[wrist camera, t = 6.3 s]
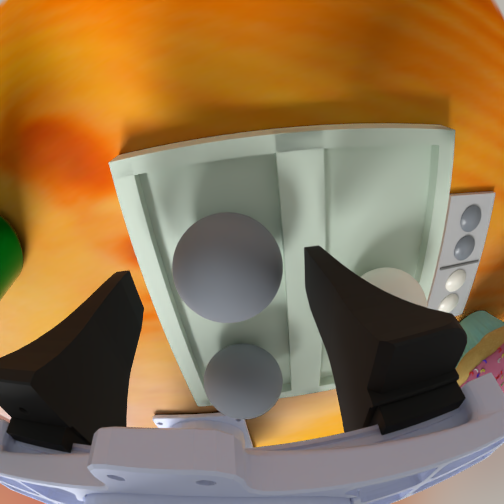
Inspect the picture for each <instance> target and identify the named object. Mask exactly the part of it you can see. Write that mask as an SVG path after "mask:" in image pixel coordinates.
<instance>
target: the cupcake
mask: <svg viewBox="0 0 504 504" xmlns="http://www.w3.org/2000/svg"><path fill="white" fill-rule="evenodd" d="M460 325H461V326H462V328H463V329H464V330H465V332H466V334H467V345H466V347H465V350H464V352H463V354H462V356H461V358H460V360H459V362H458V364H457V366H456V368H455V369H456V371H457V373H458V374H459V379H458V380H457V383H458V384H459V386H460V388H461V387H462V386H463V385H465V384H466V383H468V382H469V381H471V380H474V379H476V378H478V377H481V376H483V375H485V374H487V373H492V374H493V376H494V378H495V379H496V381H497V383H498V384H499V386H500V388H501V389H502V391H503V393H504V322H503V321H501V320H499V319H497V318H496V317H494V316H492V315H491V314H489V313H488V312H486V311H476V312H474V313H472V314H470V315H468V316H467V317H466V318H464V319H463V320H462V321H461V322H460Z"/></svg>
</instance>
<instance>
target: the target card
mask: <svg viewBox="0 0 504 504" xmlns="http://www.w3.org/2000/svg"><path fill="white" fill-rule="evenodd" d="M494 198H495V192H493V191H488V192H471V193H456V194H449V201H448V207H447V214H446V220H445V226H444V231H443V236H442V242H441V247H440V251H439V256H438V260H437V265H436V269H435V273H434V277H433V281H432V285H431V289H430V293H429V297H428V300H427V308H430V309H434V310H439V311H443V312H447V313H452V314H453V315H454V316H457V315H461V314H462V313H463V310H464V308H465V305H466V302H467V299H468V296H469V293H470V291H471V288H472V285H473V281H474V278H475V275H476V272H477V269H478V265H479V262H480V258H481V255H482V251H483V247H484V244H485V240H486V236H487V231H488V227H489V223H490V218H491V214H492V209H493V204H494Z"/></svg>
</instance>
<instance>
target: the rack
mask: <svg viewBox="0 0 504 504" xmlns="http://www.w3.org/2000/svg"><path fill="white" fill-rule="evenodd" d="M454 143H455V130H453V129H451V128H448V127H445V126H442V125H434V124H407V123H361V124H332V125H314V126H300V127H288V128H277V129H267V130H258V131H249V132H241V133H234V134H227V135H220V136H213V137H207V138H200V139H194V140H189V141H183V142H177V143H172V144H167V145H162V146H157V147H152V148H147V149H143V150H138V151H134V152H129V153H125V154H121V155H118V156H116V157H115V158H114V159H113V160H111V161H110V162H109V166H110V169H111V173H112V177H113V181H114V185H115V188H116V192H117V196H118V199H119V203H120V206H121V210H122V213H123V216H124V220H125V223H126V226H127V229H128V233H129V236H130V239H131V242H132V245H133V248H134V251H135V254H136V257H137V260H138V263H139V266H140V269H141V272H142V275H143V277H144V280H145V283H146V286H147V288H148V291H149V294H150V297H151V299H152V302H153V304H154V307H155V310H156V312H157V315H158V317H159V320H160V322H161V325H162V327H163V330H164V332H165V335H166V337H167V339H168V342H169V344H170V347H171V349H172V351H173V354H174V356H175V358H176V360H177V363H178V365H179V367H180V369H181V372H182V374H183V376H184V378H185V380H186V383H187V385H188V387H189V389H190V391H191V393H192V395H193V397H194V399H195V402H196V404H197V406H212V404H211V403H210V401H209V399H208V398H207V395H206V393H205V389H204V373H205V370H206V367H207V365H208V363H209V361H210V360H211V359H212V357H213V356H214V355H215V354H216V353H217V352H219V351H220V350H222V349H223V348H225V347H227V346H230V345H234V344H241V343H246V344H253V345H256V346H258V347H261V348H263V349H264V350H266V351H267V352H269V353H270V354H271V355H272V356H273V357H274V358H275V360H276V361H277V363H278V365H279V367H280V369H281V372H282V377H283V385H282V391H281V394H280V397H279V398H285V397H292V396H298V395H304V394H310V393H316V392H321V391H326V390H332V389H336V386H335V382H334V378H333V373H332V369H331V365H330V361H329V358H328V355H327V352H326V349H325V346H324V343H323V341H322V338H321V336H320V333H319V331H318V328H317V325H316V323H315V320H314V318H313V315H312V312H311V310H310V306H309V302H308V298H307V294H306V290H305V264H304V247H310V246H317V245H319V246H320V247H322V248H323V249H324V250H325V251H327V252H328V253H329V254H330V255H331V256H333V257H334V258H335V259H336V260H338V261H339V262H340V263H341V264H343V265H344V266H345V267H347V268H348V269H349V270H351V271H352V272H354V273H355V274H357V275H358V276H360V277H361V276H362V275H364V274H365V273H367V272H369V271H371V270H374V269H377V268H384V267H390V268H396V269H400V270H402V271H404V272H406V273H408V274H410V275H411V276H412V277H413V278H415V280H416V281H417V282H418V283H419V284H420V286H421V287H422V289H423V291H424V294H425V297H426V301H427V300H428V297H429V293H430V289H431V285H432V281H433V277H434V273H435V269H436V265H437V260H438V256H439V251H440V247H441V242H442V236H443V231H444V226H445V220H446V214H447V207H448V201H449V193H450V186H451V177H452V167H453V156H454ZM221 212H232V213H239V214H243V215H246V216H249V217H251V218H253V219H255V220H256V221H258V222H260V223H261V224H262V225H264V226H265V228H266V229H267V230H268V231H269V232H270V233H271V234H272V235H273V237H274V238H275V240H276V242H277V244H278V246H279V249H280V252H281V255H282V261H283V274H282V280H281V284H280V287H279V289H278V292H277V294H276V295H275V297H274V299H273V300H272V301H271V303H270V304H269V305H268V306H267V307H266V308H265V309H264V310H263V311H261V312H260V313H259V314H257V315H256V316H254V317H252V318H250V319H247V320H244V321H241V322H236V323H219V322H214V321H211V320H208V319H205V318H203V317H201V316H200V315H198V314H197V313H195V312H194V311H192V310H191V309H190V308H189V307H188V306H187V305H186V304H185V302H184V301H183V300H182V298H181V297H180V295H179V293H178V291H177V289H176V287H175V284H174V279H173V274H172V262H173V256H174V252H175V249H176V246H177V244H178V242H179V240H180V238H181V237H182V235H183V234H184V233H185V232H186V230H187V229H188V228H189V227H190V226H191V225H193V224H194V223H195V222H197V221H198V220H200V219H202V218H204V217H206V216H209V215H212V214H215V213H221Z"/></svg>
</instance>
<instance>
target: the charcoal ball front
mask: <svg viewBox="0 0 504 504" xmlns="http://www.w3.org/2000/svg"><path fill="white" fill-rule="evenodd" d="M172 274H173V279H174V284H175V287H176V289H177V291H178V293H179V295H180V297H181V298H182V300H183V301H184V302H185V304H186V305H187V306H188V307H189V308H190V309H191V310H192V311H194V312H195V313H197V314H198V315H200V316H201V317H203V318H205V319H208V320H211V321H214V322H219V323H236V322H241V321H244V320H247V319H250V318H252V317H254V316H256V315H257V314H259V313H260V312H261V311H263V310H264V309H265V308H266V307H267V306H268V305H269V304H270V303H271V301H272V300H273V299H274V297H275V295H276V294H277V292H278V289H279V287H280V284H281V280H282V274H283V261H282V255H281V252H280V249H279V246H278V244H277V242H276V240H275V238H274V237H273V235H272V234H271V233H270V232H269V231H268V230H267V229H266V228H265V226H264V225H262V224H261V223H260V222H258V221H256V220H255V219H253V218H251V217H249V216H246V215H243V214H239V213H232V212H221V213H215V214H212V215H209V216H206V217H204V218H202V219H200V220H198V221H197V222H195V223H194V224H193V225H191V226H190V227H189V228H188V229H187V230H186V232H185V233H184V234H183V235H182V237H181V238H180V240H179V242H178V244H177V246H176V249H175V252H174V256H173V262H172Z"/></svg>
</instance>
